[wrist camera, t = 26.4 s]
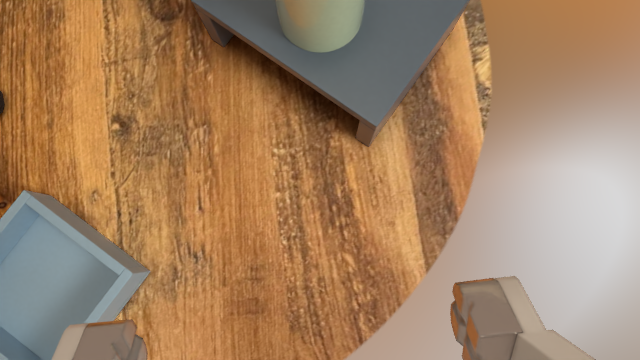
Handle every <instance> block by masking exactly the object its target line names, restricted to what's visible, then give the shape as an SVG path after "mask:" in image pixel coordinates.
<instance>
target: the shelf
mask: <svg viewBox="0 0 640 360" xmlns="http://www.w3.org/2000/svg"><path fill="white" fill-rule="evenodd" d="M191 1H192V3H193V5H194V7H195V9H196V11H197V13H198V14H199V16H200V18H201V20H202V22H203V24H204V25H205V27H206V29H207V31H208V33H209V35H210V37H211V38H212V40H214V41H215V42H217V43H218V44H220V45H221V46H223V47H225V46H226V44H227V43H228V42H229V40H230V39H231V38H232V37H233V35H236V36H237V37H239V38H240V39H241V40H243V41H244V42H246V43H247V44H249V45H250V46H252V47H253V48H255V49H256V50H258V51H259V52H260V53H262V54H263V55H265V56H266V57H268V58H269V59H271V60H272V61H274V62H275V63H277V64H278V65H280V66H281V67H282V68H284V69H285V70H287V71H288V72H290V73H291V74H293V75H294V76H296V77H297V78H299V79H300V80H301V81H303V82H304V83H306V84H307V85H309V86H310V87H312V88H313V89H315V90H316V91H318V92H319V93H320V94H322V95H323V96H325V97H326V98H328V99H329V100H331V101H332V102H334V103H335V104H337V105H338V106H339V107H341V108H342V109H344V110H345V111H347V112H348V113H350V114H351V115H353V116H354V117H356V118H357V119H358V120H360V122H359V126H358V130H357V134H356V137H355V138H356V139H358V140H359V141H361V142H362V143H363V144H365V145H366V146H368V147H369V146H370V145H371V143H372V142H373V140H374V139H375V138H376V136H377V135H378V133H379V132H380V131H381V129H382V128H383V126H384V125H385V124H386V122H387V121H388V119H389V118H390V117H391V115H392V114H393V112H394V111H395V110H396V108H397V107H398V105H399V104H400V103H401V101H402V100H403V98H404V97H405V96H406V94H407V93H408V91H409V90H410V89H411V87H412V86H413V84H414V83H415V82H416V80H417V79H418V77H419V76H420V75H421V73H422V72H423V70H424V69H425V68H426V66H427V65H428V63H429V62H430V61H431V59H432V58H433V56H434V55H435V54H436V52H437V51H438V49H439V48H440V47H441V45H442V44H443V43H444V41H445V40H446V38H447V37H448V36H449V34H450V33H451V31H452V30H453V28H454V27H455V25H456V23H457V21H458V20H459V18H460V16H461V14H462V13H463V11H464V9H465V8H466V6H467V4H468V2H469V1H470V0H366V2H365V8H364V15H363V21H362V24H361V27H360V29H359V31H358V32H357V34H356V35H355V37H354V38H353V39H352V40H351V41H350V42H349V43H347V44H346V45H344V46H343V47H341V48H339V49H336V50H334V51H330V52H322V53H321V52H310V51H307V50H304V49H302V48H299V47H298V46H296V45H294V44H293V43H292V42H291V41H290V40H289V39H288V38H287V37H286V36H285V35H284V33H283V31H282V30H281V27H280V25H279V21H278V17H277V12H276V7H275V3H274V0H191Z"/></svg>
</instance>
